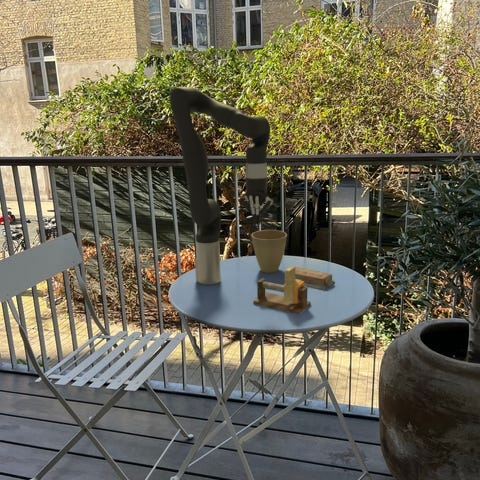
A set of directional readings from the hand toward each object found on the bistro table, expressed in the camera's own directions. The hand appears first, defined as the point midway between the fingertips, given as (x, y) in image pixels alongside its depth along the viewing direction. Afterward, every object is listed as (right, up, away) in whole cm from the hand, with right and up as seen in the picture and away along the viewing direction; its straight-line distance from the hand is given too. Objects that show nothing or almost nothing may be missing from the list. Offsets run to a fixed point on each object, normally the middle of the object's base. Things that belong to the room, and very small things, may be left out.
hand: (257, 224), depth 162 cm
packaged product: (+21, -23, +19) cm, 36 cm away
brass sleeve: (+12, -26, -5) cm, 29 cm away
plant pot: (+6, -19, +32) cm, 38 cm away
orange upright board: (+14, -26, -6) cm, 31 cm away
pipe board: (+9, -28, -2) cm, 30 cm away
